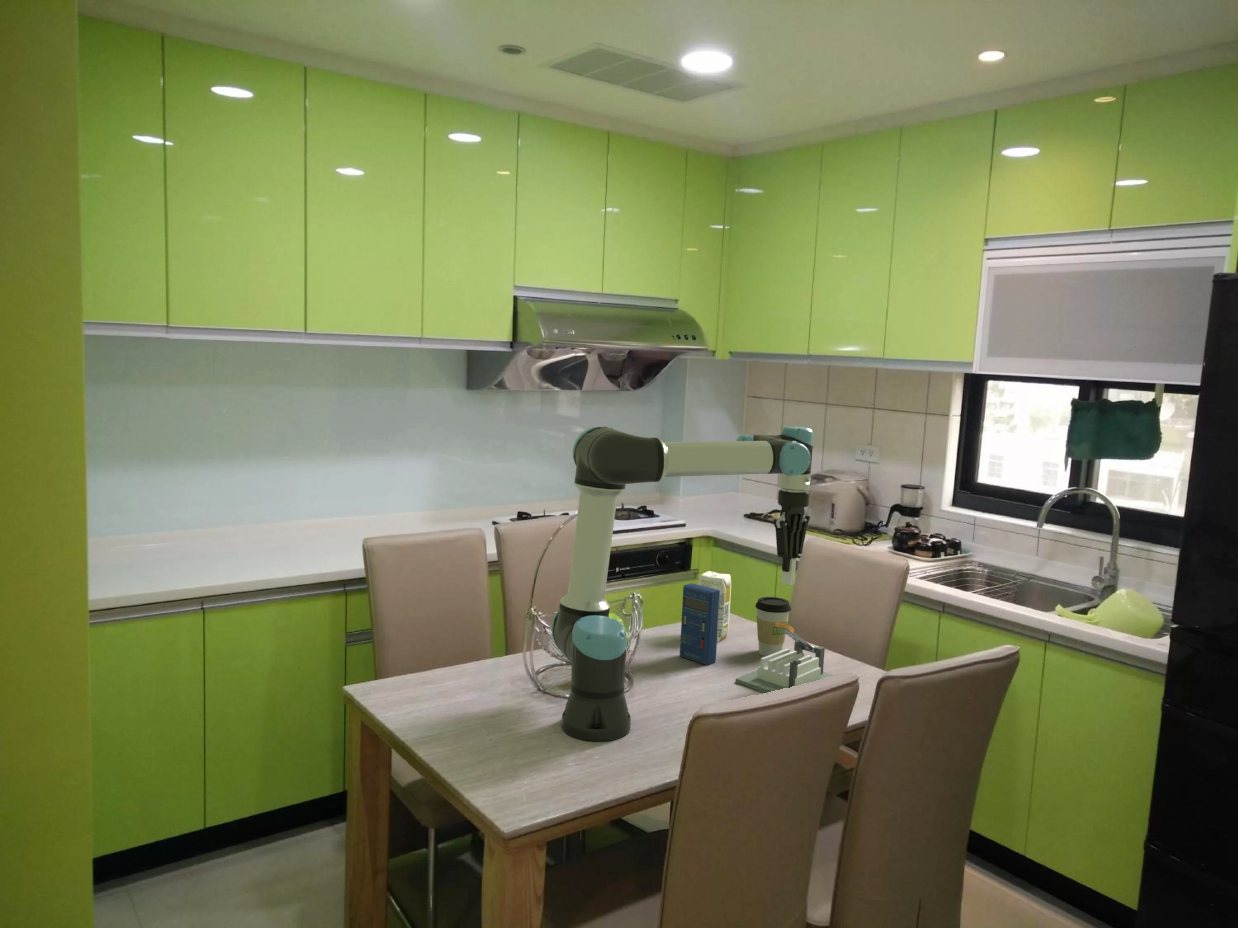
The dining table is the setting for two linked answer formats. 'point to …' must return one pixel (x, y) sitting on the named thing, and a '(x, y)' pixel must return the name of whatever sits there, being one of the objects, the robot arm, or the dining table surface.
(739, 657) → the dining table surface
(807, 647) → the lever
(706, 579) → the juice carton
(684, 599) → the electronic device
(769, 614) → the coffee cup
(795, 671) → the heatsink base
